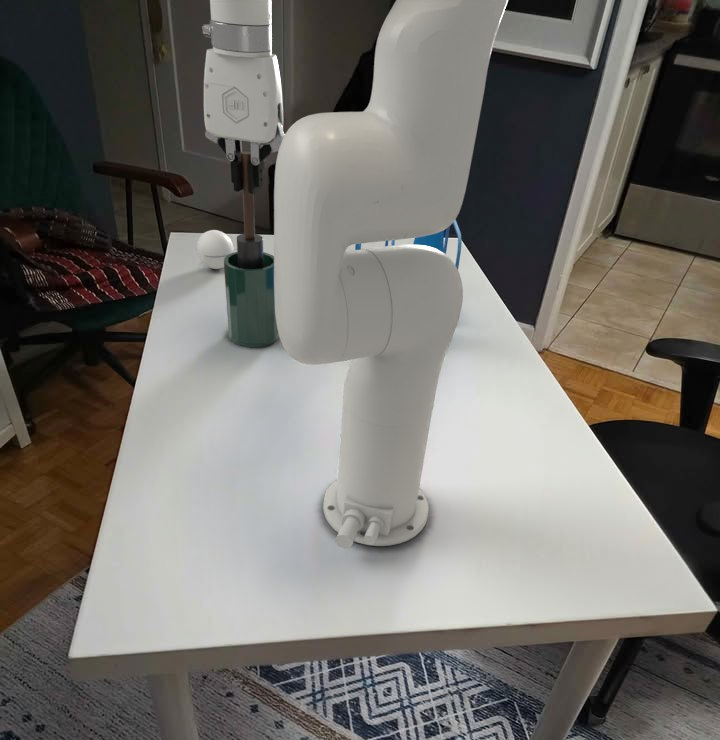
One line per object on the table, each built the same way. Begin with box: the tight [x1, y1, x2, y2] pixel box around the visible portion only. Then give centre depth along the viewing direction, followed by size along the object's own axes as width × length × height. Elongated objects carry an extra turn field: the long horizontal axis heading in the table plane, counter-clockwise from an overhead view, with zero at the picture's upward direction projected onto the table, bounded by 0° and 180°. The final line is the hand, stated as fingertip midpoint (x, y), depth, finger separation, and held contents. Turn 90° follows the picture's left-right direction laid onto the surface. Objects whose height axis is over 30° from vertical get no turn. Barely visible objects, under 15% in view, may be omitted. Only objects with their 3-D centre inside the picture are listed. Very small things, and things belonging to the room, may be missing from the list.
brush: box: [236, 151, 264, 269], centre depth 97 cm, size 4×4×18 cm
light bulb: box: [195, 229, 237, 270], centre depth 128 cm, size 10×7×7 cm
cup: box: [223, 251, 279, 348], centre depth 105 cm, size 8×8×13 cm
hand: (247, 189), depth 95 cm, fingers closed on brush
